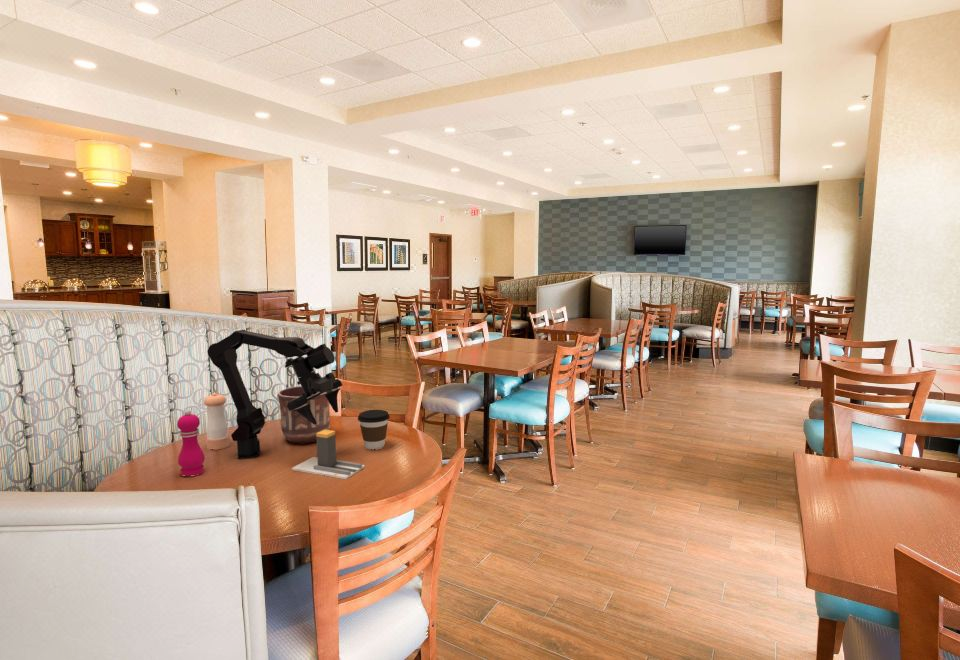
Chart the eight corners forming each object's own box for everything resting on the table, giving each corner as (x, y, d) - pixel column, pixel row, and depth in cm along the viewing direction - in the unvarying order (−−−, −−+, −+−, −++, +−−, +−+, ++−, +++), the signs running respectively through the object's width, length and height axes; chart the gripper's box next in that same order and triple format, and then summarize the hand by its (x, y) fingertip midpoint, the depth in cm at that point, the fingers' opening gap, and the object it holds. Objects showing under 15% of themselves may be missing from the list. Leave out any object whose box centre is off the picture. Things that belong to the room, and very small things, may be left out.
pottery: (286, 450, 180) (284, 399, 178) (275, 436, 195) (273, 389, 192) (337, 441, 190) (336, 392, 187) (323, 428, 204) (321, 383, 202)
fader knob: (317, 467, 163) (316, 433, 162) (326, 463, 167) (324, 429, 165) (328, 469, 162) (326, 434, 160) (336, 464, 165) (335, 430, 164)
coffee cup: (356, 444, 186) (354, 411, 184) (386, 440, 190) (385, 407, 189) (361, 454, 176) (360, 419, 174) (394, 449, 180) (393, 415, 179)
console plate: (292, 469, 163) (291, 464, 163) (313, 458, 172) (313, 454, 172) (345, 479, 156) (345, 474, 156) (364, 467, 165) (364, 462, 165)
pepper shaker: (223, 449, 181) (219, 395, 179) (202, 449, 181) (198, 395, 179) (233, 442, 188) (230, 390, 186) (213, 442, 189) (209, 390, 186)
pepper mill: (178, 479, 157) (173, 414, 154) (179, 471, 163) (174, 408, 160) (205, 474, 160) (200, 411, 157) (205, 466, 166) (201, 405, 164)
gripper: (296, 379, 157) (317, 426, 158) (342, 358, 172) (361, 401, 173) (277, 387, 164) (298, 432, 165) (323, 366, 179) (342, 408, 180)
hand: (326, 418), depth 171 cm, fingers open, 9 cm apart
